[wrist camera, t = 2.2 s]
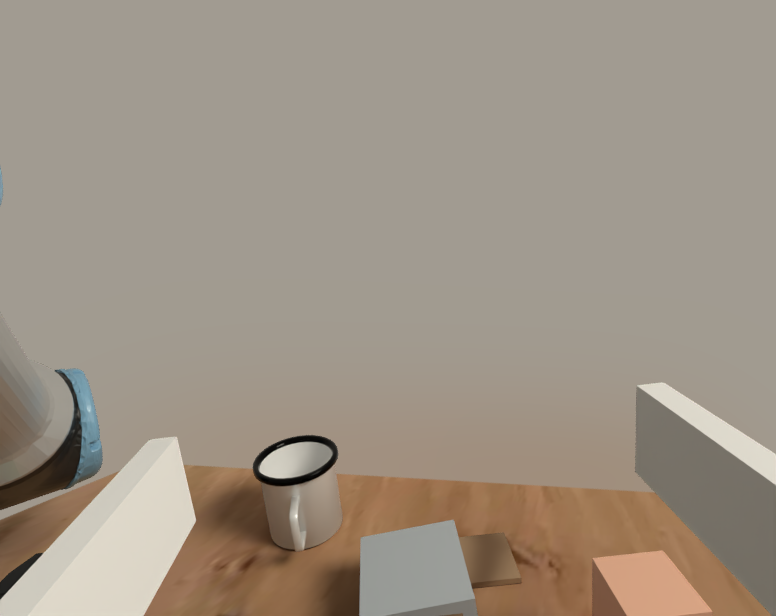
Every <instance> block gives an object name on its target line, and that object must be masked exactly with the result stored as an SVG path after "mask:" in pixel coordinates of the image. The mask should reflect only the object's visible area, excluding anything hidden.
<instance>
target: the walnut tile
mask: <svg viewBox="0 0 776 616" xmlns="http://www.w3.org/2000/svg"><path fill="white" fill-rule="evenodd" d="M458 538H459V541H460V545H461V549H462V553H463V556H464V560H465V564H466V567H467V571H468V575H469V579H470V582H471V586H472V588H480V587H489V586H498V585H508V584H517V583H521V576H520V573H519V571H518V568H517V565H516V563H515V560H514V558H513V555H512V552H511V550H510V547H509V545H508V542H507V539H506V537H505V534H504V533H495V534H485V535H476V536H467V537H458Z"/></svg>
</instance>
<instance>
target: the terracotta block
mask: <svg viewBox="0 0 776 616" xmlns="http://www.w3.org/2000/svg"><path fill="white" fill-rule="evenodd" d="M712 614H713V612H712V610H711V609H710V608H709V607H708V605H707V604H706V603H705V602H704V601H703V599H702V598H701V597H700V596H699V594H698V593H697V592H696V591H695V589H694V588H693V587H692V586H691V585H690V583H689V582H688V581H687V580H686V578H685V577H684V576H683V575H682V573H681V572H680V571H679V570H678V569H677V567H676V566H675V565H674V564H673V562H672V561H671V560H670V559H669V557H668V556H667V555H666V554H665V553H664V551H654V552H645V553H636V554H627V555H618V556H609V557H599V558H592V616H712Z"/></svg>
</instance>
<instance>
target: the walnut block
mask: <svg viewBox="0 0 776 616" xmlns="http://www.w3.org/2000/svg"><path fill="white" fill-rule="evenodd" d="M442 616H463V613H460V614H451V615H442Z"/></svg>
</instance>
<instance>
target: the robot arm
mask: <svg viewBox="0 0 776 616" xmlns="http://www.w3.org/2000/svg"><path fill="white" fill-rule="evenodd" d="M2 196H3V184H2V174H1V168H0V205H1V202H2ZM636 394H637V395H636V396H637V397H636V456H635V458H636V459H635V472H636V473H637V474H638V475H639V476H640V477H641V478H642V479H643V480H644V481H645V482H646V483H647V485H648V486H649V487H650V488H651V489H652V490H653V491H654V492H655V493H656V494H657V495H658V496H659V497H660V498H661V499H662V500H663V501H664V502H665V503H666V505H667V506H668V507H669V508H670V509H671V510H672V511H673V512H674V513H675V514H676V515H677V516H678V517H679V518H680V519H681V520H682V521H683V522H684V523H685V524H686V526H687V527H688V528H689V529H690V530H691V531H692V532H693V533H694V534H695V535H696V536H697V537H698V538H699V539H700V540H701V541H702V542H703V543H704V544H705V545H706V547H707V548H708V549H709V550H710V551H711V552H712V553H713V554H714V555H715V556H716V557H717V558H718V559H719V560H720V561H721V562H722V563H723V564H724V565H725V567H726V568H727V569H728V570H729V571H730V572H731V573H732V574H733V575H734V576H735V577H736V578H737V579H738V580H739V581H740V582H741V583H742V584H743V585H744V586H745V588H746V589H747V590H748V591H749V592H750V593H751V594H752V595H753V596H754V597H755V598H756V599H757V600H758V601H759V602H760V603H761V604H762V605H763V606H764V607H765V609H766V610H767V611H768V612H769V613H770V614H771V615H772V616H776V454H775V453H773V452H771V451H770V450H768V449H767V448H765V447H764V446H762V445H760V444H759V443H757V442H756V441H754V440H753V439H751V438H749V437H748V436H746V435H745V434H743V433H741V432H740V431H738V430H737V429H735V428H734V427H732V426H731V425H729V424H728V423H726V422H724V421H723V420H721V419H720V418H718V417H717V416H715V415H713V414H712V413H710V412H709V411H707V410H706V409H704V408H703V407H701V406H699V405H698V404H696V403H695V402H693V401H692V400H690V399H688V398H687V397H685V396H684V395H682V394H681V393H679V392H677V391H676V390H674V389H673V388H671V387H670V386H668V385H667V384H665V383H654V384H646V385H637V393H636ZM99 434H100V432H99V425H98V420H97V415H96V410H95V405H94V401H93V397H92V393H91V389H90V386H89V383H88V380H87V378H86V377H85V374H84V373H83V371H81V370H79V369H67V370H65V369H59V370H55V371H53V370H52V369H51V368H49V367H47V366H45V365H43V364H41V363H38V362H36V361H32V360H29V359H28V358H27V356H26V354H25V353H24V351H23V349H22V348H21V346H20V345H19V343H18V341H17V339H16V338H15V336H14V334H13V333H12V331H11V330H10V328H9V326H8V325H7V323H6V321H5V319H4V318H3V316H2V314H1V313H0V510H2V509H5V508H8V507H11V506H14V505H17V504H19V503H22V502H25V501H28V500H31V499H34V498H37V497H40V496H43V495H46V494H49V493H52V492H55V491H58V490H60V489H61V490H63V489H68V488H71V487H72V486H74V485H75V484H76V483H79V482H81V481H83V480H86V479H88V478H91V477H92V476H94V475H95V474H96V473H97V472H98V470H99V469H100V468H101V465H102V446H101V442H100V439H99V438H100V435H99ZM195 522H196V518H195V514H194V509H193V505H192V501H191V496H190V492H189V488H188V484H187V479H186V475H185V471H184V466H183V462H182V458H181V453H180V449H179V445H178V441H177V437H169V438H160V439H151V440H149V441H148V442H147V443H146V444H145V445H144V446H143V447H142V448H141V449H140V451H139V452H138V453H137V454H136V455H135V456H134V457H133V458H132V459H131V460H130V461H129V462H128V463H127V464H126V466H125V467H124V468H123V469H122V470H121V471H120V472H119V473H118V474H117V475H116V476H115V477H114V478H113V479H112V481H111V482H110V483H109V484H108V485H107V486H106V487H105V488H104V489H103V490H102V491H101V492H100V493H99V494H98V496H97V497H96V498H95V499H94V500H93V501H92V502H91V503H90V504H89V505H88V506H87V507H86V508H85V509H84V511H83V512H82V513H81V514H80V515H79V516H78V517H77V518H76V519H75V520H74V521H73V522H72V523H71V524H70V526H69V527H68V528H67V529H66V530H65V531H64V532H63V533H62V534H61V535H60V536H59V537H58V538H57V539H56V541H55V542H54V543H53V544H52V545H51V546H50V547H49V548H48V549H47V550H46V551H45V552H44V553H38V554H35V555H34V556H33V557H31V558H30V559H28V560H27V561H26V562H24V563H23V564H21V565H20V566H19V567H17V568H16V569H14V570H13V571H12V572H10V573H9V574H8V575H7V576H6V577H5V578H4V579H3V580H2V581H1V582H0V616H143V615H144V614H145V612H146V610H147V608H148V606H149V605H150V603H151V601H152V599H153V597H154V596H155V594H156V592H157V590H158V588H159V587H160V585H161V583H162V581H163V579H164V578H165V576H166V574H167V572H168V570H169V569H170V567H171V565H172V563H173V561H174V560H175V558H176V556H177V554H178V552H179V551H180V549H181V547H182V545H183V543H184V542H185V540H186V538H187V536H188V534H189V533H190V531H191V529H192V527H193V525H194V524H195Z"/></svg>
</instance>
